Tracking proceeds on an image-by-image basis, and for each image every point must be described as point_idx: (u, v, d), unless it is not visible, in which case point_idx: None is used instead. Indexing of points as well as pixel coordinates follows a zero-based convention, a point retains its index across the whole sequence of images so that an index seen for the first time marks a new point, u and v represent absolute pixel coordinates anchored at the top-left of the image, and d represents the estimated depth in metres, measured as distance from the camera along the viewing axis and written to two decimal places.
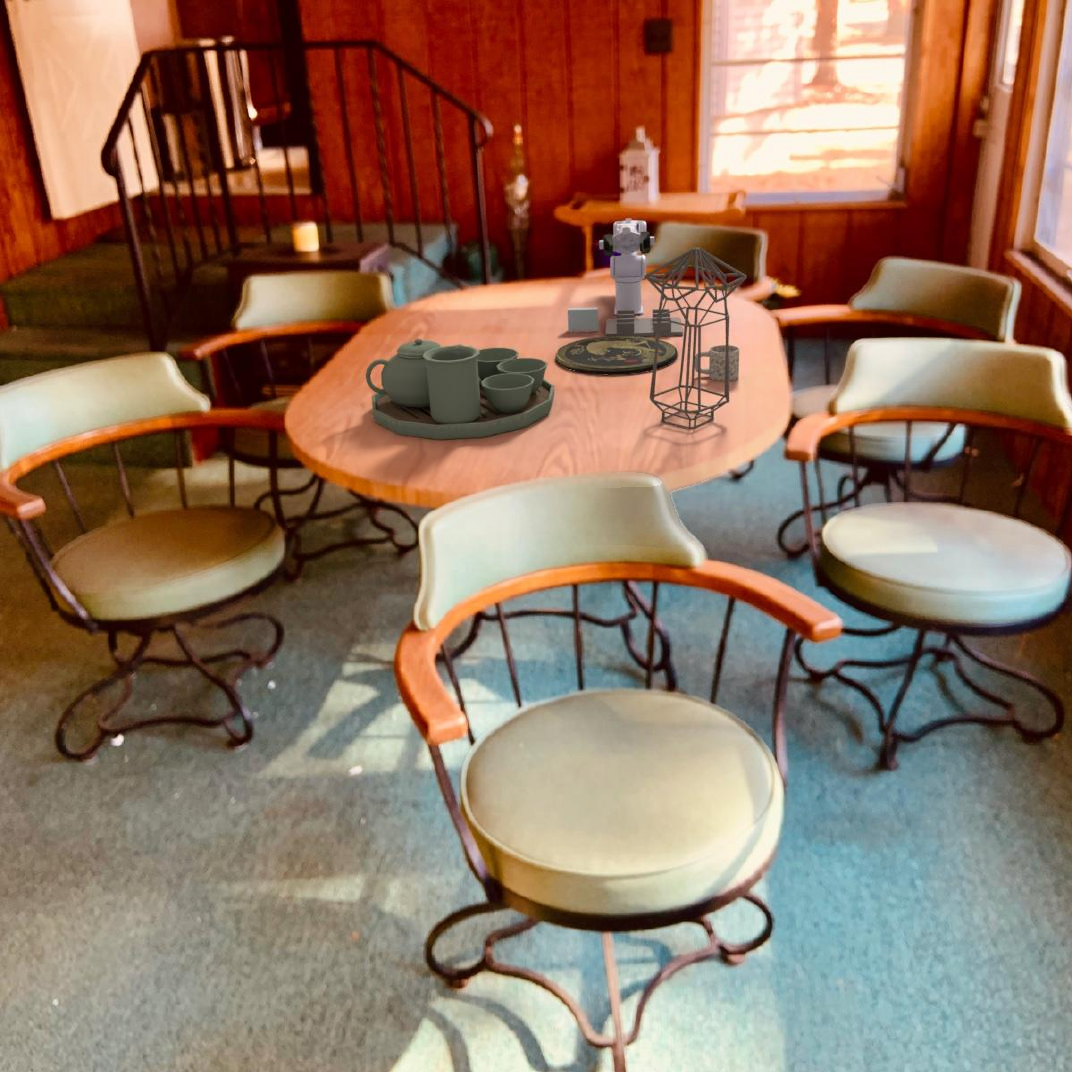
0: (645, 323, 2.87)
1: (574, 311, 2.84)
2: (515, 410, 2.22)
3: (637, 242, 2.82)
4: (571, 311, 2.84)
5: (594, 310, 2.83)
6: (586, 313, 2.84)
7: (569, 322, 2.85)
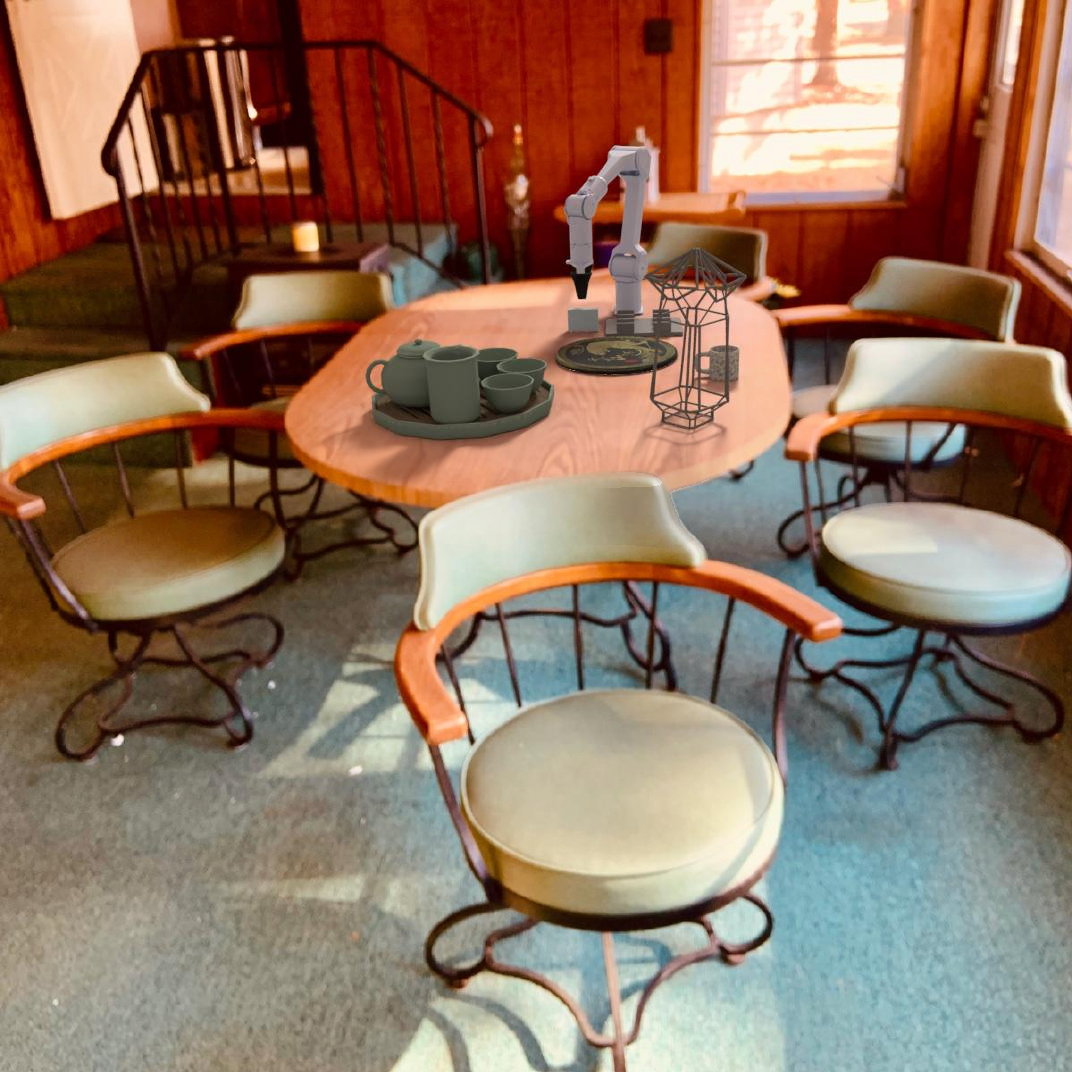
0: (645, 323, 2.87)
1: (574, 311, 2.84)
2: (515, 410, 2.22)
3: None
4: (571, 311, 2.84)
5: (594, 310, 2.83)
6: (586, 313, 2.84)
7: (569, 322, 2.85)
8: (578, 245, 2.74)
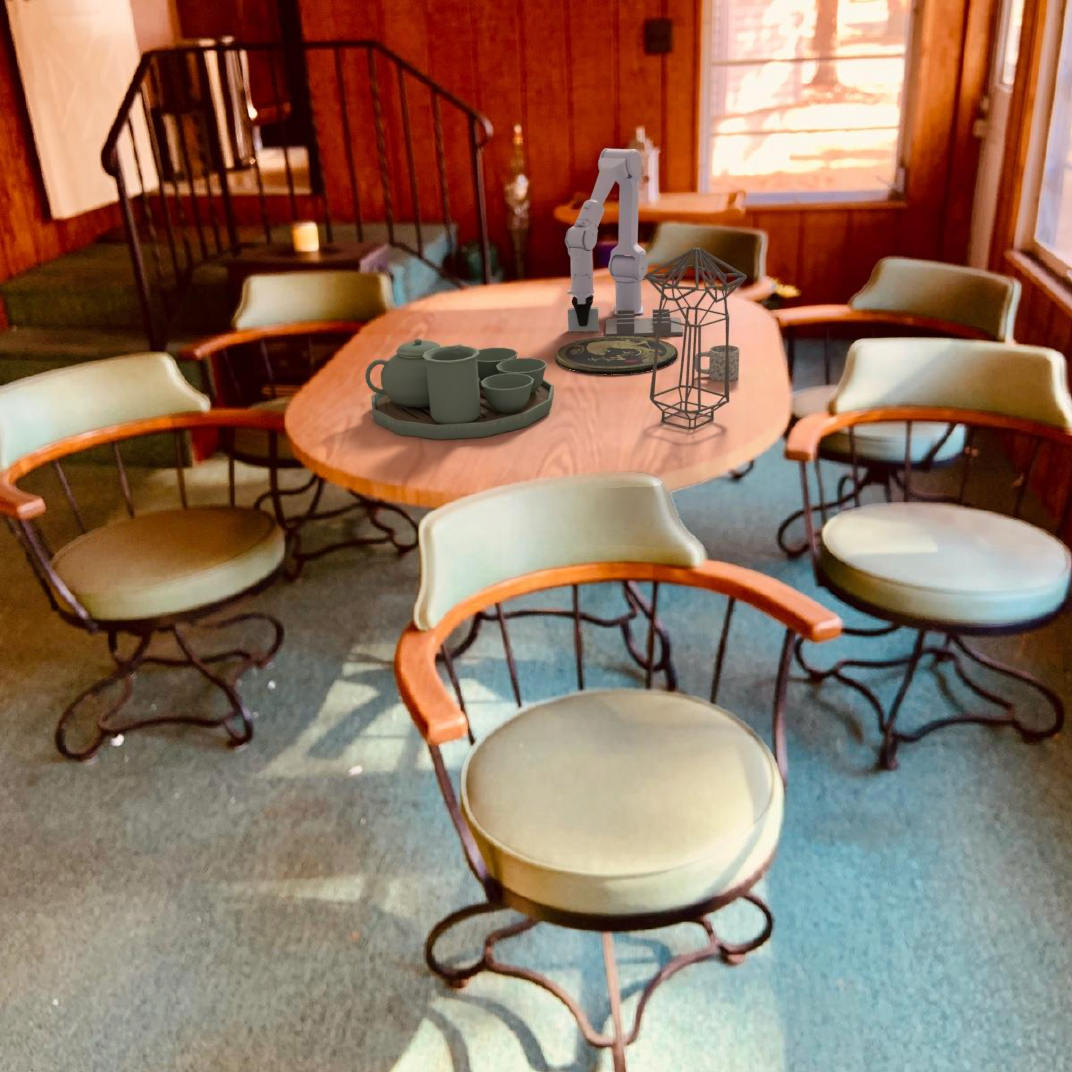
0: (645, 323, 2.87)
1: (574, 311, 2.84)
2: (515, 410, 2.22)
3: None
4: (571, 311, 2.84)
5: (594, 310, 2.83)
6: None
7: (569, 322, 2.85)
8: (579, 276, 2.78)
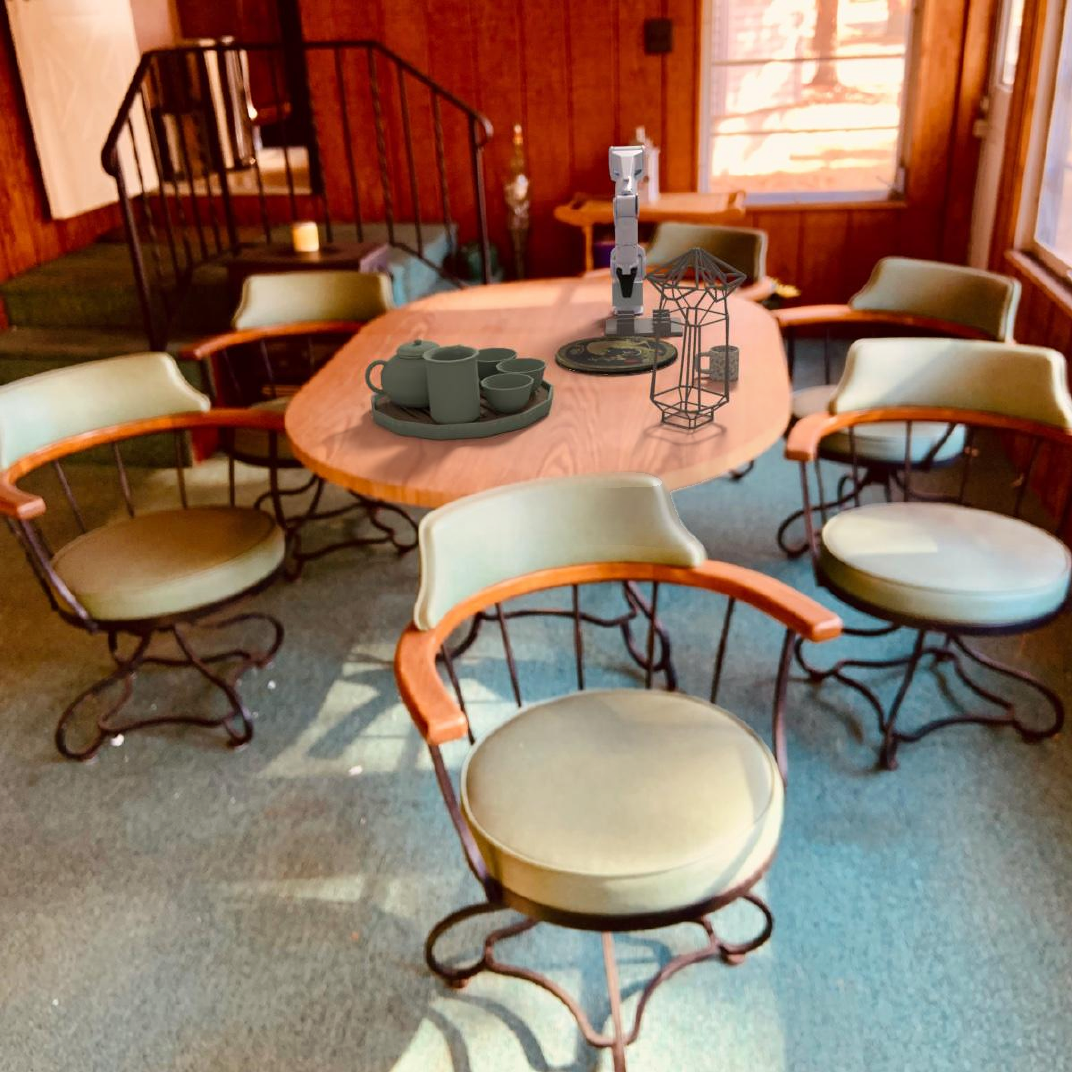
0: (645, 323, 2.87)
1: (618, 285, 2.80)
2: (515, 410, 2.22)
3: None
4: (615, 285, 2.80)
5: (639, 283, 2.79)
6: None
7: (613, 296, 2.81)
8: (624, 246, 2.74)
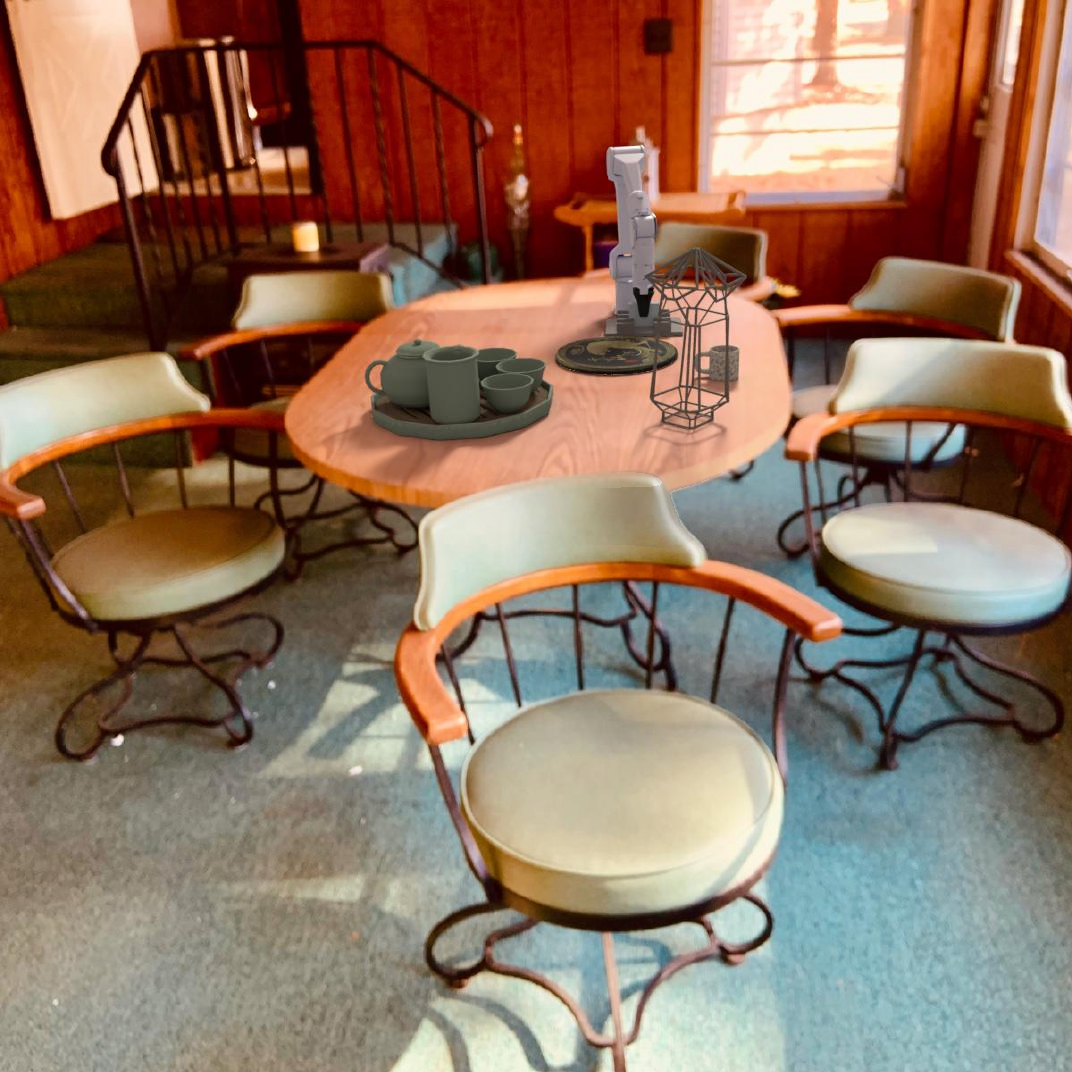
0: None
1: (635, 305, 2.82)
2: (515, 410, 2.22)
3: None
4: (632, 305, 2.82)
5: (655, 304, 2.81)
6: None
7: (630, 316, 2.83)
8: (641, 266, 2.76)
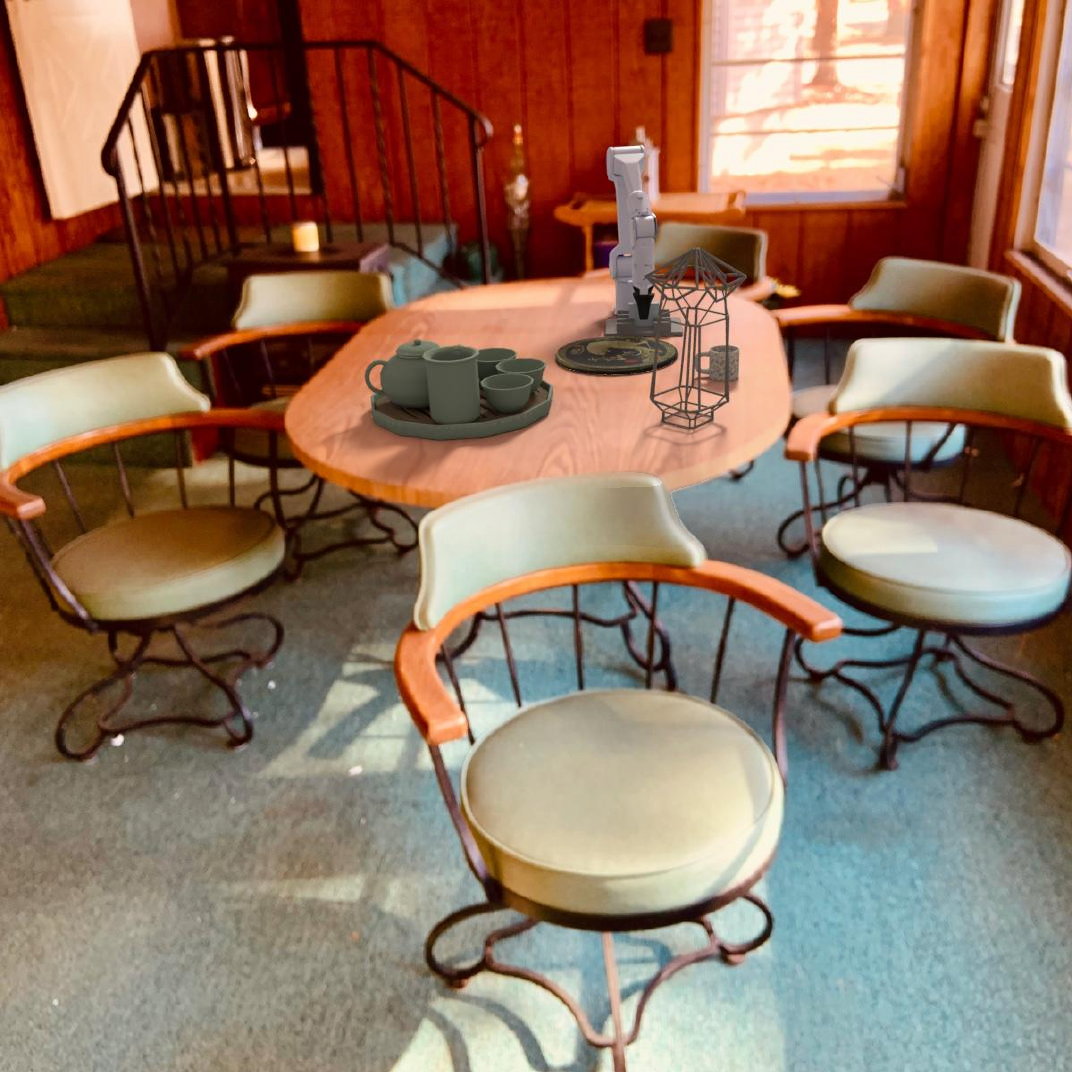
0: None
1: (635, 305, 2.82)
2: (515, 410, 2.22)
3: None
4: (632, 305, 2.82)
5: (655, 304, 2.81)
6: None
7: (630, 316, 2.83)
8: (641, 266, 2.76)
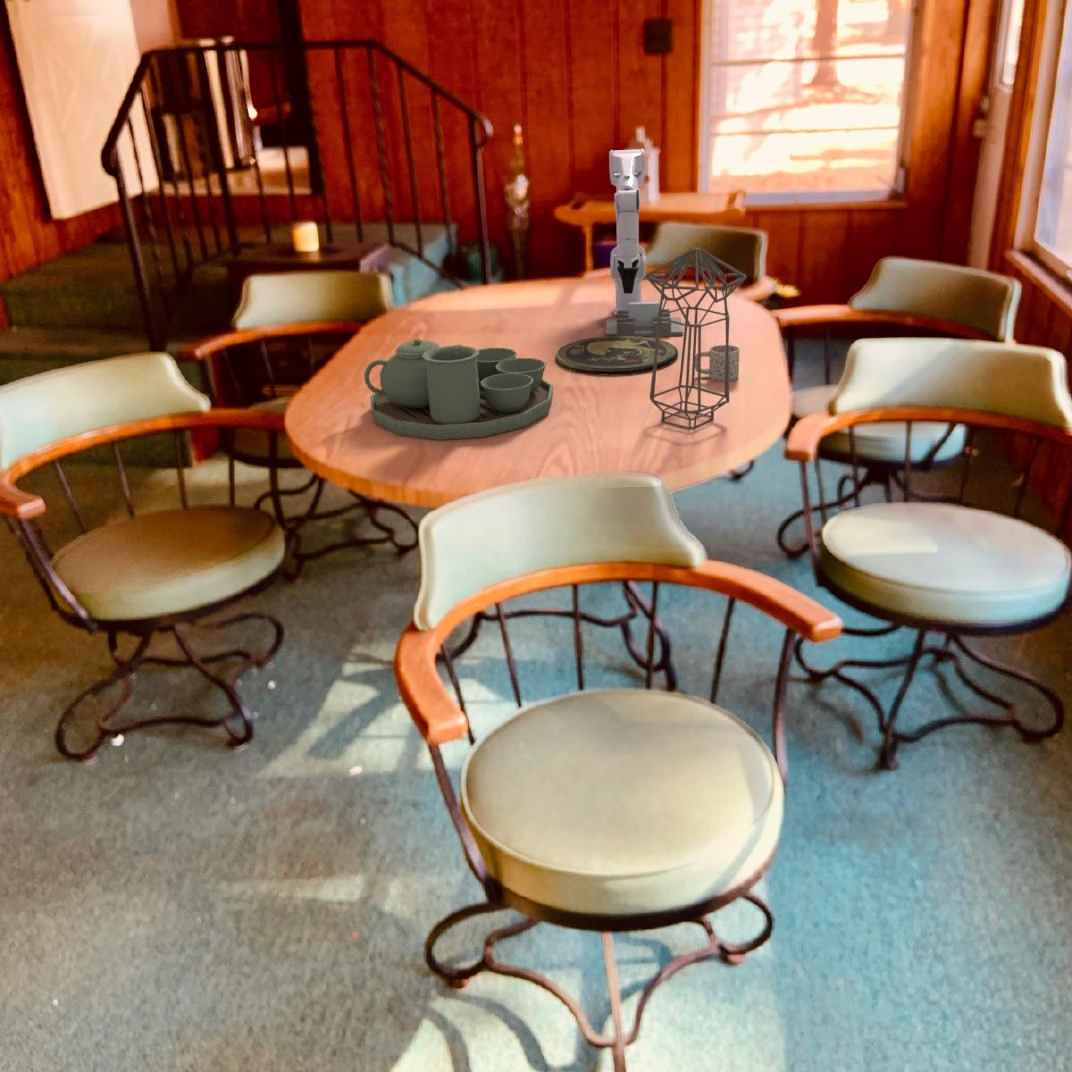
0: None
1: (635, 305, 2.82)
2: (514, 410, 2.22)
3: None
4: (632, 305, 2.82)
5: (655, 304, 2.81)
6: (647, 307, 2.82)
7: (630, 316, 2.83)
8: (625, 240, 2.78)
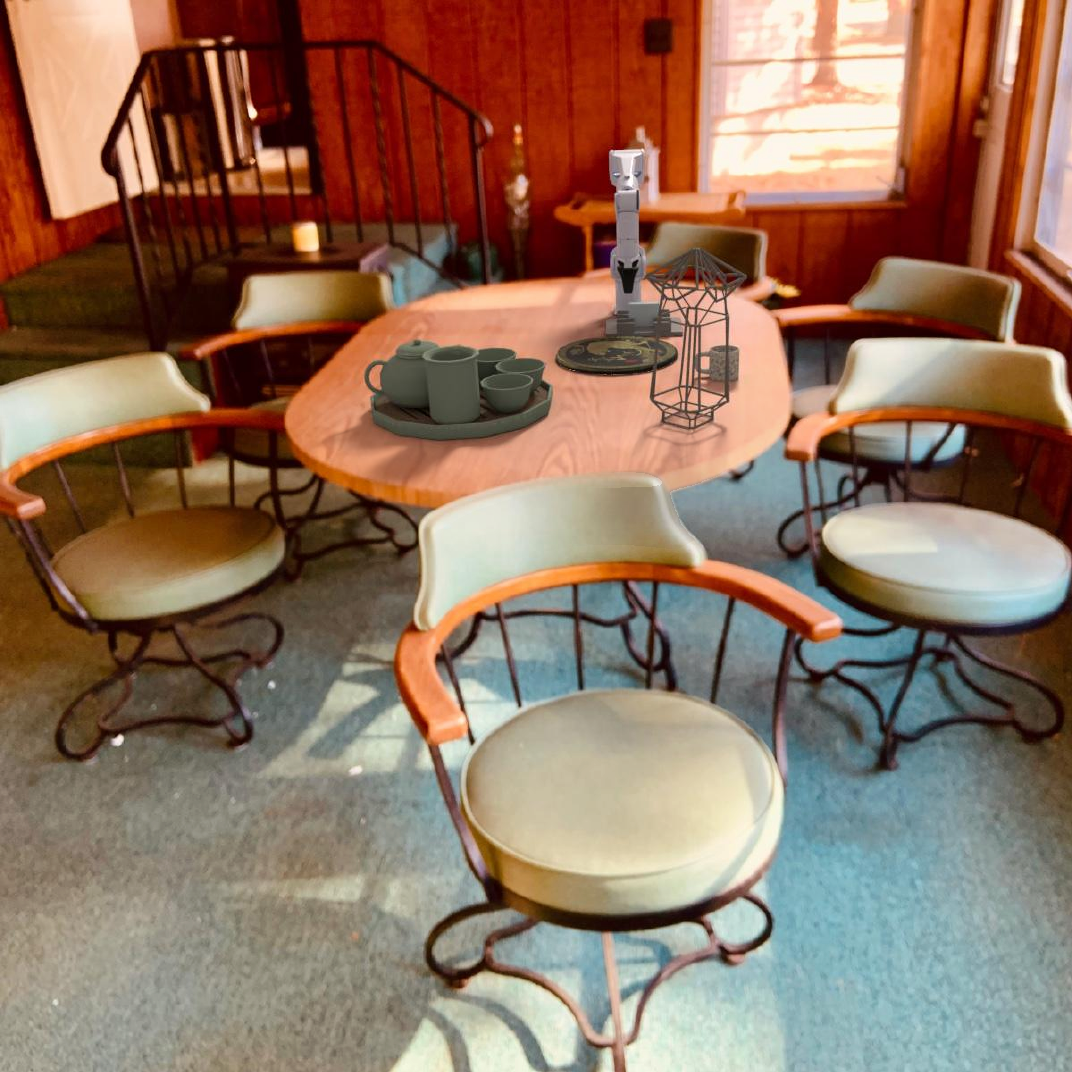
0: None
1: (635, 305, 2.82)
2: (514, 410, 2.22)
3: None
4: (632, 305, 2.82)
5: (655, 304, 2.81)
6: (647, 307, 2.82)
7: (630, 316, 2.83)
8: (625, 240, 2.78)
